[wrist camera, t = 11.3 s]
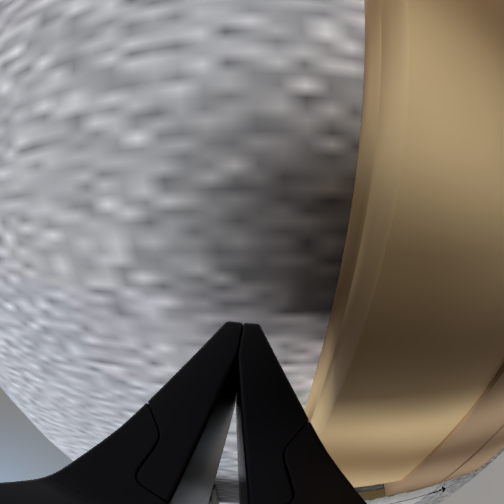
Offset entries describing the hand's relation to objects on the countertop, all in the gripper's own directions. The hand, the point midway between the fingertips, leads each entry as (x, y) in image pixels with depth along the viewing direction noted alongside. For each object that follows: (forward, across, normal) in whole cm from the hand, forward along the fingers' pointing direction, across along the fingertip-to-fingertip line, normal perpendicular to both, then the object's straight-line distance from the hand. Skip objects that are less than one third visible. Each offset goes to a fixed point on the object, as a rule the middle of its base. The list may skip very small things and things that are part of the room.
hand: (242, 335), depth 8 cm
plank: (+1, -5, 0) cm, 5 cm away
